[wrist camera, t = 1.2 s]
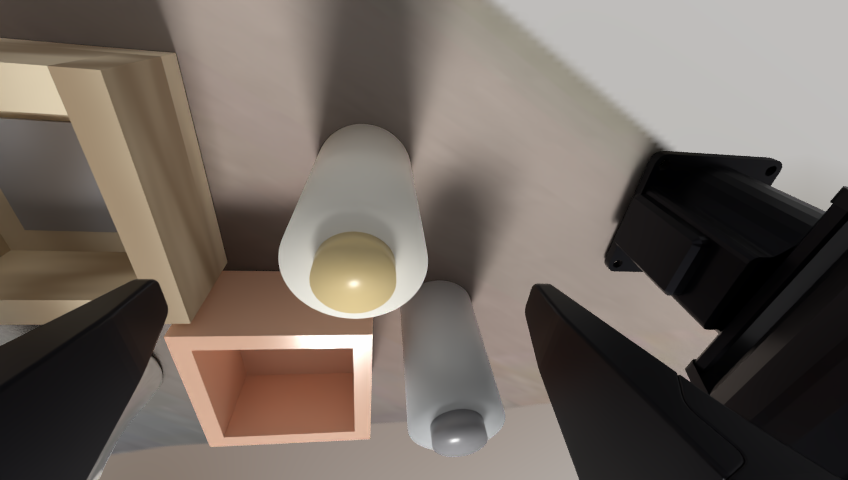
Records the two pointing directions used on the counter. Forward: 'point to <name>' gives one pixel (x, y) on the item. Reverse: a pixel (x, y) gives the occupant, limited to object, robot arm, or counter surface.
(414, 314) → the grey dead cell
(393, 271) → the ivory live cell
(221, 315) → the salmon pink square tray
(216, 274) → the frame
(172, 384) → the counter surface
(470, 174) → the counter surface
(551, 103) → the counter surface
